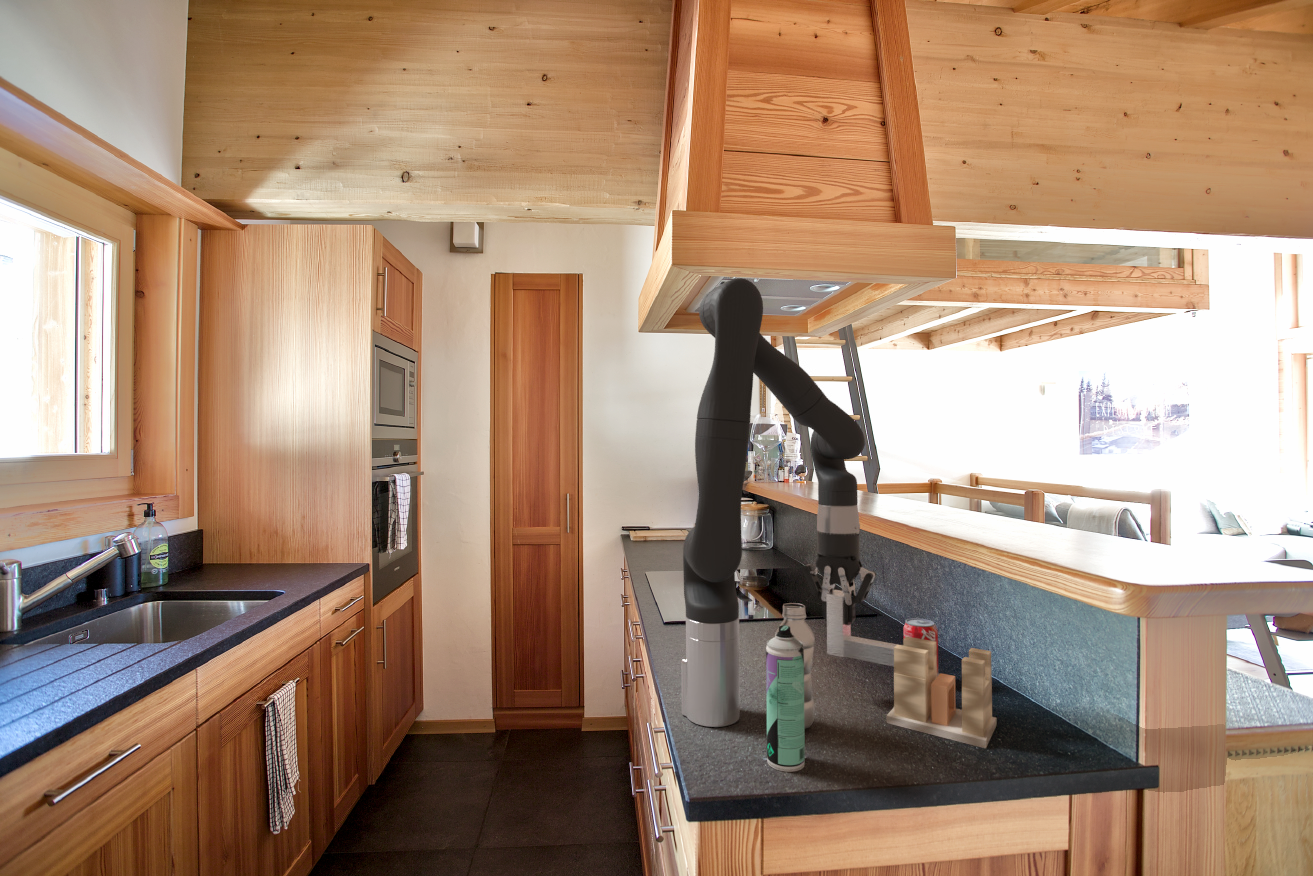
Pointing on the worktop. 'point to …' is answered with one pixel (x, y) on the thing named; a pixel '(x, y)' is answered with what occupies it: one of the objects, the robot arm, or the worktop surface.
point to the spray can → (785, 701)
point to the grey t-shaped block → (850, 645)
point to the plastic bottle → (804, 634)
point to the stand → (915, 693)
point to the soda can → (921, 631)
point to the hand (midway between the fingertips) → (838, 622)
